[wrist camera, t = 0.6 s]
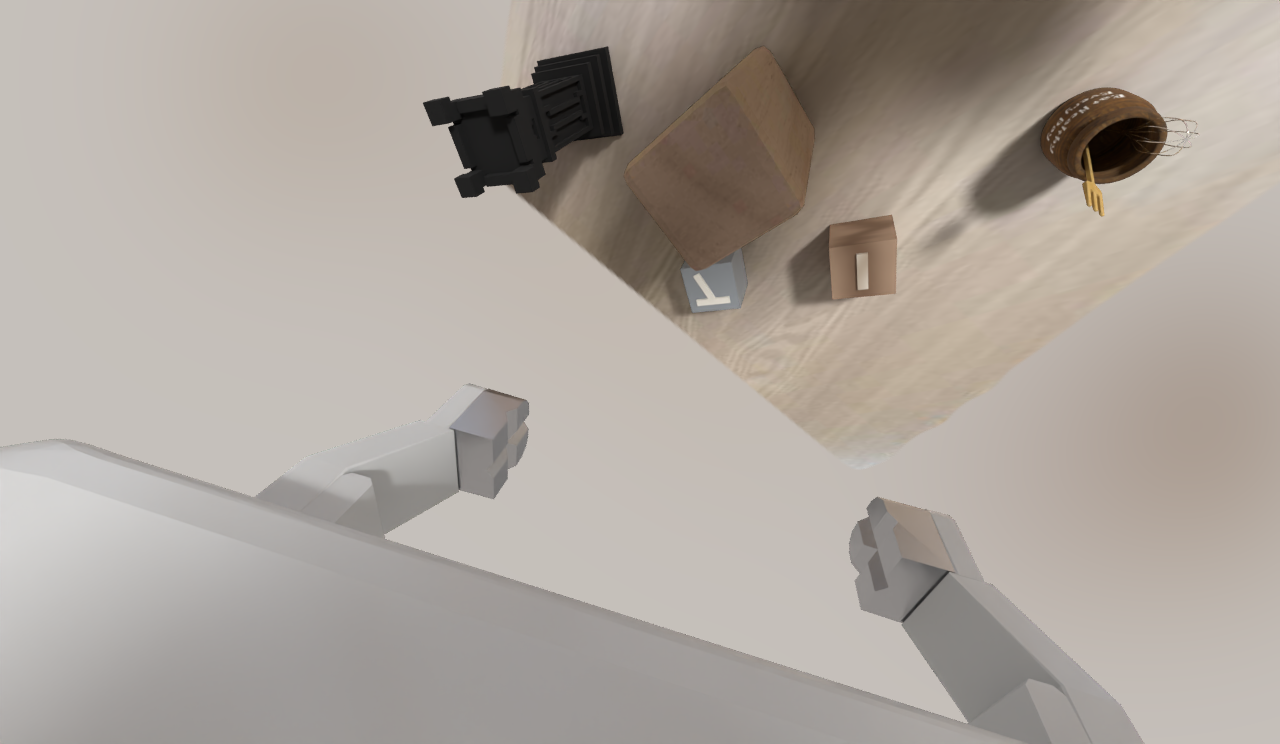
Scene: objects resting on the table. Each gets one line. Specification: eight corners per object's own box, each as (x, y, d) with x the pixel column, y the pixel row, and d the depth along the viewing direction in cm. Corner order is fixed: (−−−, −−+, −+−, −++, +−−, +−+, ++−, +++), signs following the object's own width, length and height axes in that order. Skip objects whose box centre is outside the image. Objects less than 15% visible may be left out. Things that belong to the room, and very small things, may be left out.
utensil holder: (1152, 112, 36) (1247, 156, 28) (1066, 179, 41) (1125, 235, 32) (1098, 68, 36) (1178, 99, 27) (1016, 141, 40) (1064, 187, 32)
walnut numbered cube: (891, 214, 47) (897, 239, 43) (891, 266, 51) (895, 294, 46) (830, 224, 50) (828, 249, 45) (833, 273, 53) (832, 300, 49)
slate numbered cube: (739, 239, 54) (730, 263, 50) (747, 283, 57) (740, 309, 53) (692, 246, 57) (679, 270, 52) (702, 288, 60) (691, 313, 56)
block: (734, 193, 51) (693, 280, 37) (681, 114, 47) (614, 176, 33) (819, 135, 45) (809, 211, 30) (765, 39, 41) (726, 75, 27)
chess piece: (540, 60, 48) (416, 97, 34) (608, 46, 46) (502, 81, 31) (561, 141, 53) (460, 202, 39) (623, 133, 50) (538, 196, 36)
